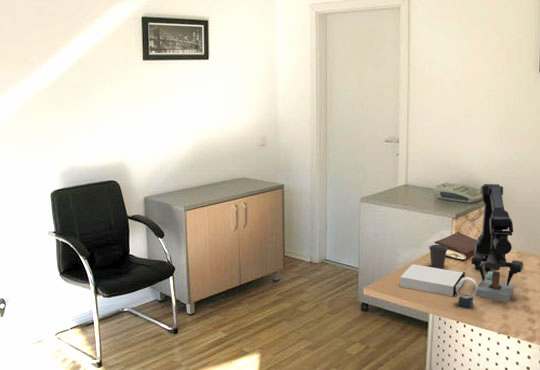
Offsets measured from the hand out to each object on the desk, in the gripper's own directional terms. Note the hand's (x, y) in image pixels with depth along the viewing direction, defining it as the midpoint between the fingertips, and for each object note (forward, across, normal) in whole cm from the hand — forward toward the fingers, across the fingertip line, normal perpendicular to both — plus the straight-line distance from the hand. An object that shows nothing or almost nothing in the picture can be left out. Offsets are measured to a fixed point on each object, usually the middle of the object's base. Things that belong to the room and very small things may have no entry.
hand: (495, 283), depth 244 cm
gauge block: (+4, 0, 0) cm, 4 cm away
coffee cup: (+5, -29, +18) cm, 34 cm away
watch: (+5, -7, -17) cm, 19 cm away
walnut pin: (+4, 0, 0) cm, 4 cm away
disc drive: (+5, -24, -3) cm, 25 cm away
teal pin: (+4, -4, +10) cm, 12 cm away
